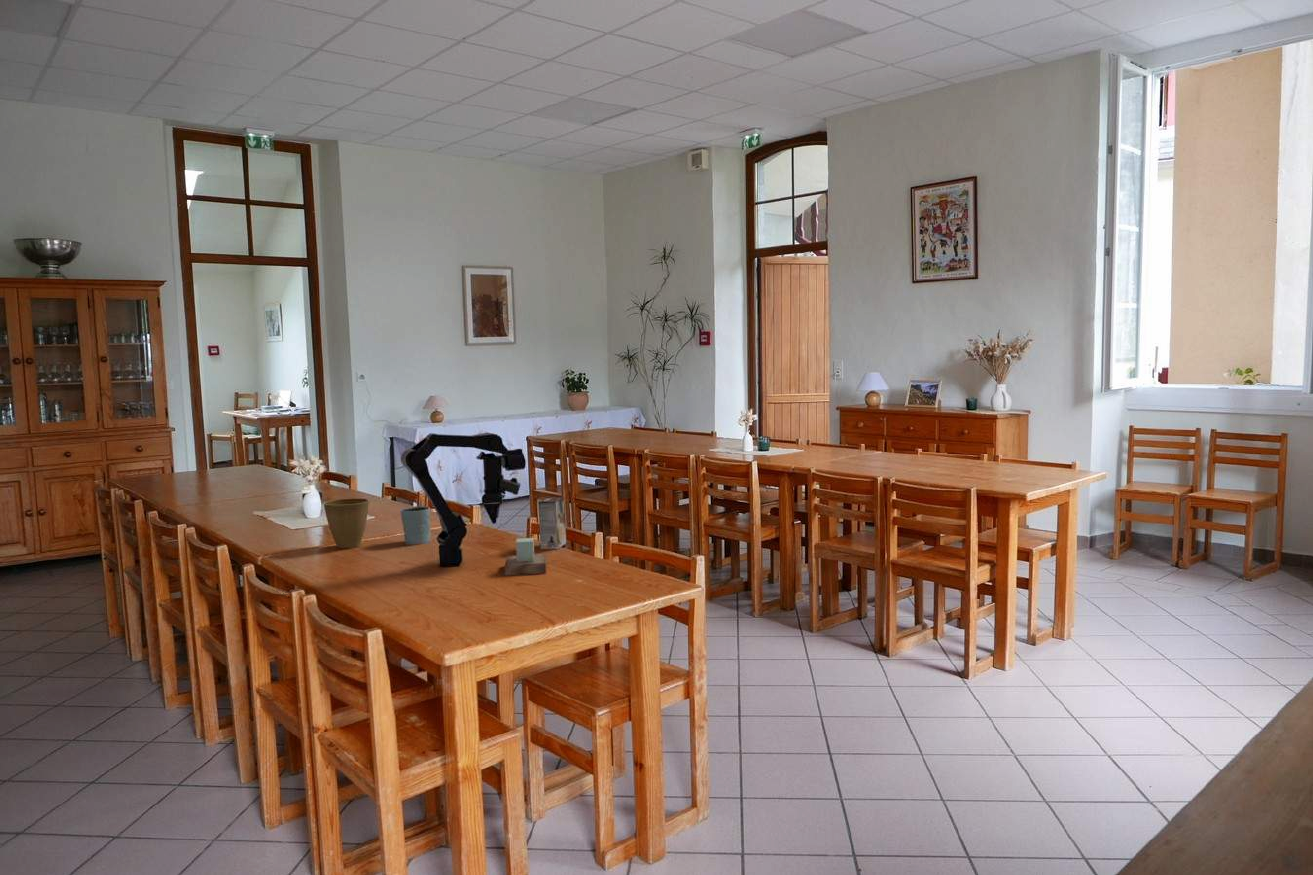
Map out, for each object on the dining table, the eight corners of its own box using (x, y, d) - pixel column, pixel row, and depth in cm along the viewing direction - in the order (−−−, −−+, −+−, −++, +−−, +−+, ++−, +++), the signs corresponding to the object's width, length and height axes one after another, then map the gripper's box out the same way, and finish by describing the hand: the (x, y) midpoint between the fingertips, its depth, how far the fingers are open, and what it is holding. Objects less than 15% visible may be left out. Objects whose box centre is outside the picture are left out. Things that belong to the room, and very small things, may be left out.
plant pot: (353, 552, 296) (350, 505, 295) (317, 550, 301) (314, 504, 300) (380, 542, 310) (377, 498, 309) (345, 540, 315) (342, 497, 314)
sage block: (517, 561, 262) (516, 542, 261) (517, 558, 267) (516, 538, 266) (533, 560, 262) (532, 541, 262) (534, 557, 267) (533, 537, 267)
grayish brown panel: (505, 575, 258) (504, 565, 258) (507, 565, 270) (507, 556, 270) (546, 572, 260) (545, 563, 259) (546, 563, 272) (546, 553, 271)
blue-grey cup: (427, 544, 304) (425, 510, 303) (398, 545, 304) (396, 511, 303) (435, 538, 314) (433, 505, 313) (407, 539, 314) (405, 506, 313)
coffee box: (548, 543, 301) (546, 496, 299) (566, 543, 299) (564, 497, 298) (540, 549, 292) (537, 501, 290) (558, 549, 290) (556, 501, 289)
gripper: (517, 475, 271) (519, 524, 272) (519, 467, 289) (521, 514, 291) (480, 477, 269) (483, 526, 271) (485, 469, 288) (487, 515, 289)
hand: (495, 520), depth 280 cm, fingers open, 9 cm apart
